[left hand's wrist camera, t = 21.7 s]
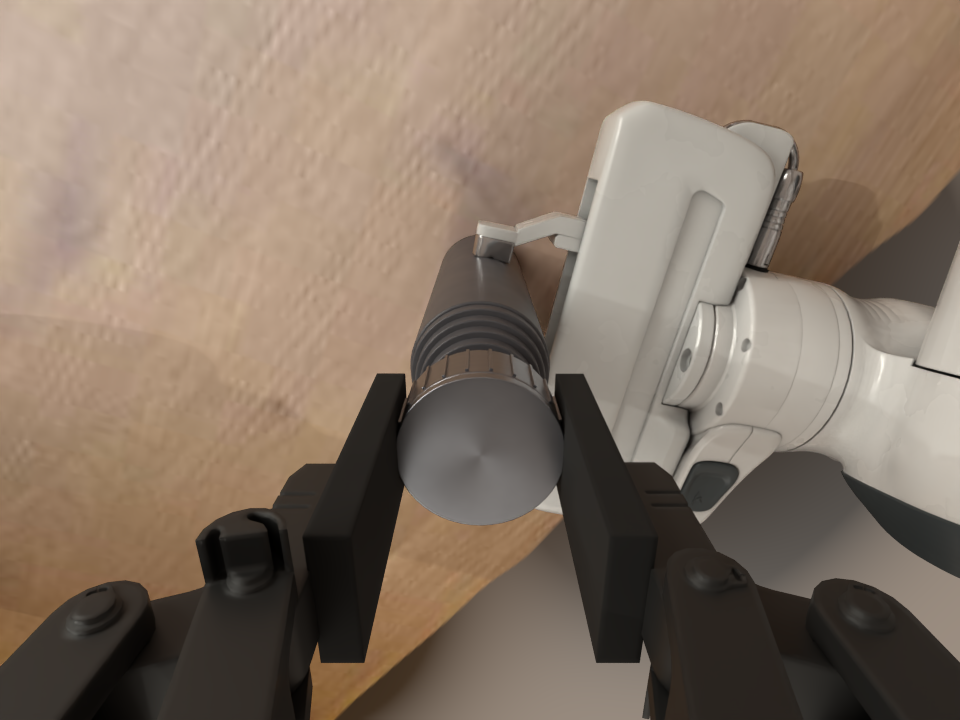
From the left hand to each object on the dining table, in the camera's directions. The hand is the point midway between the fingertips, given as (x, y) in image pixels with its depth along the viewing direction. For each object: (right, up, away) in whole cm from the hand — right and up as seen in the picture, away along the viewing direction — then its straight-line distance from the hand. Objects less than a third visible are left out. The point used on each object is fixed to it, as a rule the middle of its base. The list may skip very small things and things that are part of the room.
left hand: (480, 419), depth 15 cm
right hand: (-1, +5, +11) cm, 12 cm away
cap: (0, -1, -1) cm, 2 cm away
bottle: (0, +7, +17) cm, 18 cm away
